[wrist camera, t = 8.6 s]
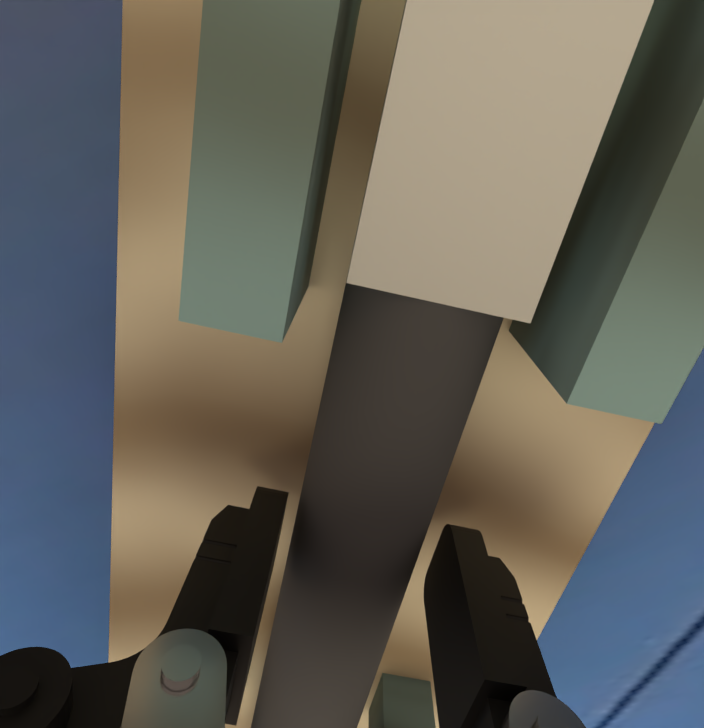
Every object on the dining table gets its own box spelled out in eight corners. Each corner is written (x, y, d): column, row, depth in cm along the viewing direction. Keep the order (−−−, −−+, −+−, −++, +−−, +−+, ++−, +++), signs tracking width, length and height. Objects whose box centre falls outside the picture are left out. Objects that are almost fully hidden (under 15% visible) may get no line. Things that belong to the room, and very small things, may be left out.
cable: (334, 741, 17) (327, 853, 14) (250, 726, 17) (227, 837, 14) (579, 4, 8) (681, -68, 6) (414, -38, 8) (435, -134, 6)
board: (433, 777, 20) (452, 958, 16) (124, 725, 20) (50, 898, 15) (905, -168, 9) (1523, -541, 4) (174, -381, 8) (-99, -1130, 3)
